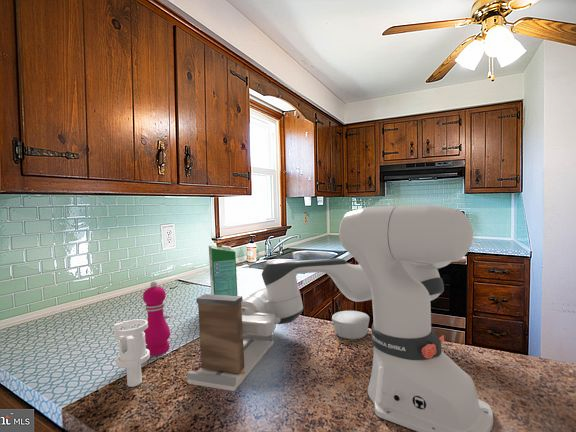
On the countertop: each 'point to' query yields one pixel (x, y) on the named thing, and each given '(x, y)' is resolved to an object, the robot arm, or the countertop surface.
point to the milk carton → (223, 271)
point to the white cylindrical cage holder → (132, 349)
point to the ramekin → (351, 324)
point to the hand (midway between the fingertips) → (224, 334)
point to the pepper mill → (156, 320)
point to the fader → (221, 332)
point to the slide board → (230, 381)
